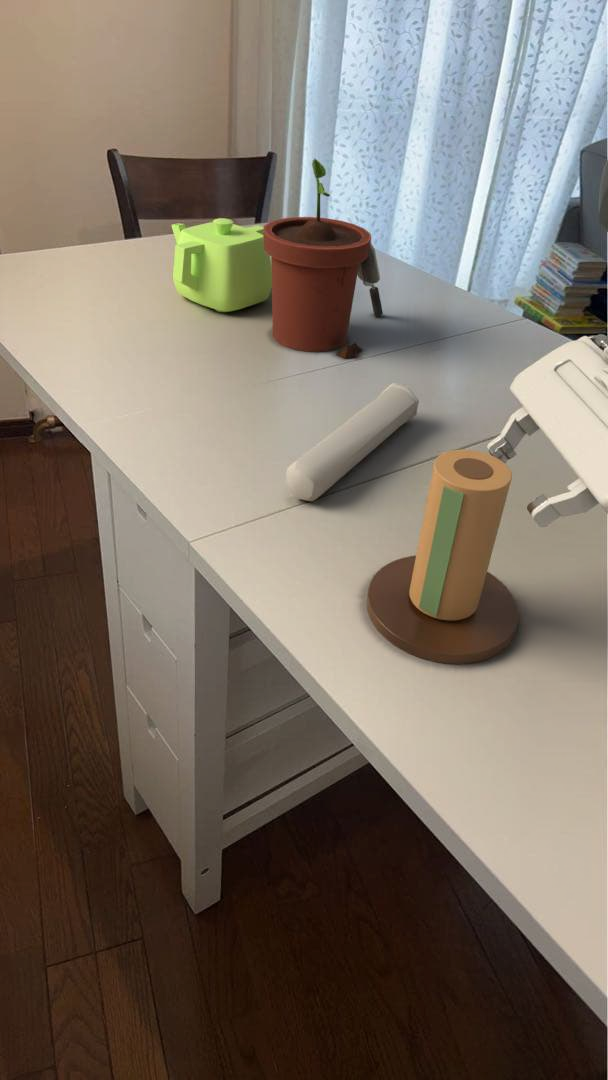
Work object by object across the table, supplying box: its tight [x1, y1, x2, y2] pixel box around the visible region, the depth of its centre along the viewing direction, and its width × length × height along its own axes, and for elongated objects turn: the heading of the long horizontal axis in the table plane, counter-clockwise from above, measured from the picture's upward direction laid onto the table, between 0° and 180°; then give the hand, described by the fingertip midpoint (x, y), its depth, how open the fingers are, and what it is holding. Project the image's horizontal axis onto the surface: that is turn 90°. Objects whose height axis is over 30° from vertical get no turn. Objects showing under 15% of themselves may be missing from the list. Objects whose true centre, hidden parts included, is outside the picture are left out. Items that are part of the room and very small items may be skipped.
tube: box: [285, 381, 420, 503], centre depth 95 cm, size 5×5×25 cm
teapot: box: [171, 217, 272, 313], centre depth 132 cm, size 18×20×13 cm
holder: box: [366, 555, 520, 665], centre depth 75 cm, size 14×14×2 cm
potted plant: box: [263, 157, 384, 359], centre depth 119 cm, size 18×22×25 cm
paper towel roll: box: [409, 449, 513, 621], centre depth 70 cm, size 6×7×14 cm
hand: (511, 485), depth 68 cm, fingers open, 8 cm apart
